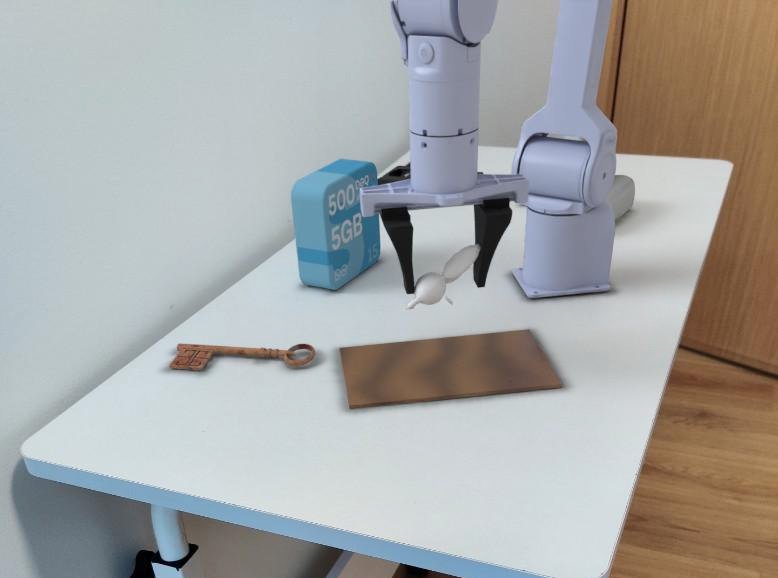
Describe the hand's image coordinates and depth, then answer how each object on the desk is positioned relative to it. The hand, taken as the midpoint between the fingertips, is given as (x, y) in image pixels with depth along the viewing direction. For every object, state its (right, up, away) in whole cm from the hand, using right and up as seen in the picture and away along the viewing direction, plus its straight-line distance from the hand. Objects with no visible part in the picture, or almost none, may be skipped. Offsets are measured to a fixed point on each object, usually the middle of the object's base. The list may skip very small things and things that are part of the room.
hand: (443, 286), depth 78 cm
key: (-20, -5, +8) cm, 22 cm away
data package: (-10, +9, +25) cm, 29 cm away
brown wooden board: (+1, -7, +5) cm, 8 cm away
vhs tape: (+2, +30, +49) cm, 57 cm away
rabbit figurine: (0, -1, +1) cm, 2 cm away
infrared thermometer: (+20, +21, +37) cm, 47 cm away
